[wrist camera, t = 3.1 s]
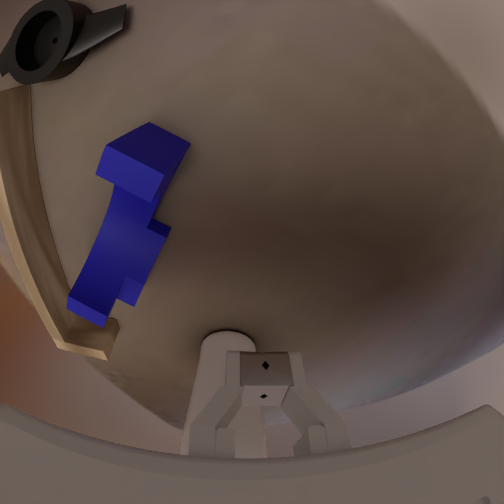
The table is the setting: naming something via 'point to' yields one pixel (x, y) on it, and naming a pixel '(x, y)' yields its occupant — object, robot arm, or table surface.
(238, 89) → the table surface
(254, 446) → the drinking glass
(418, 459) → the robot arm
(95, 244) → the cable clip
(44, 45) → the black winged round fixture
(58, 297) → the bar
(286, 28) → the table surface
